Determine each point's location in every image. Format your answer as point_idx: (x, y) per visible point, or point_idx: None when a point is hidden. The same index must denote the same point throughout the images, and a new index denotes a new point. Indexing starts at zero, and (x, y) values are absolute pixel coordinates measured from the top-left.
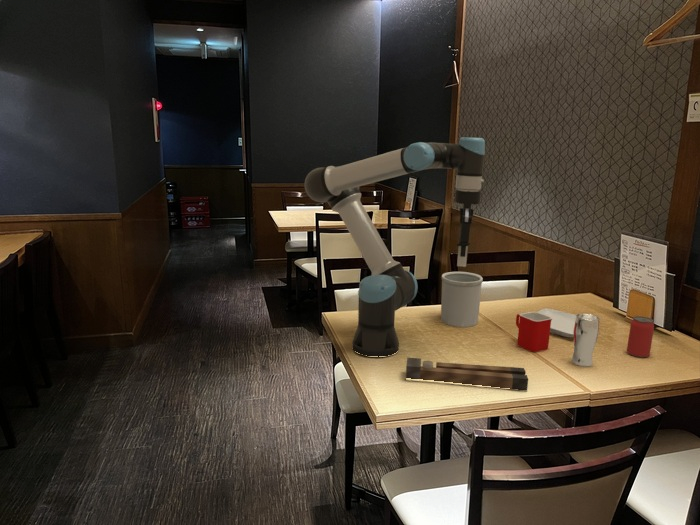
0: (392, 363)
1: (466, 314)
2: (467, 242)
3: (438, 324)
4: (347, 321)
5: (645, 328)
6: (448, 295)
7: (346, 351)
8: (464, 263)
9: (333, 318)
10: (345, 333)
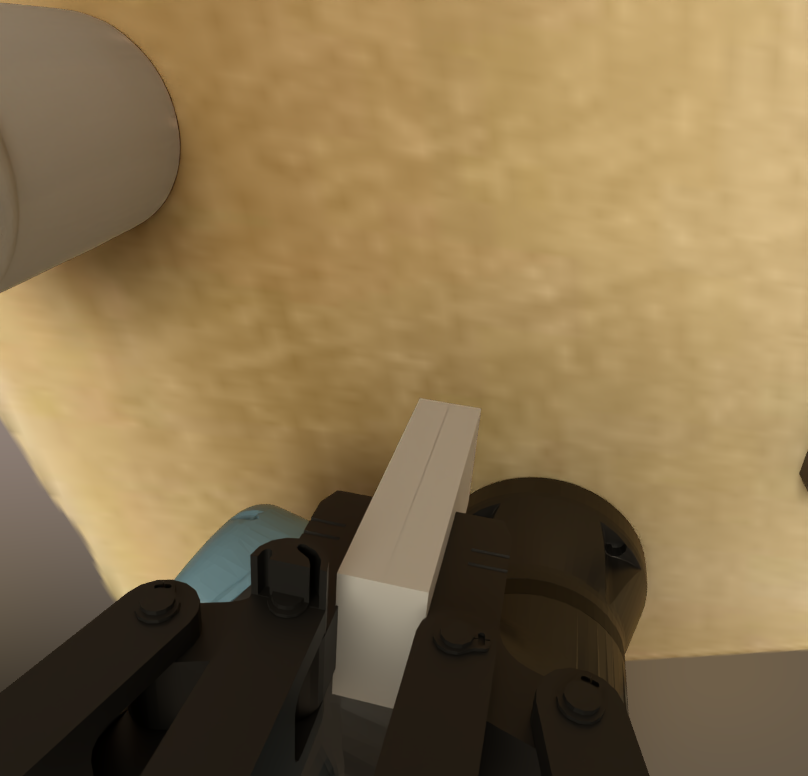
0: (702, 518)
1: (132, 110)
2: (633, 758)
3: (174, 253)
4: None
5: None
6: (56, 255)
7: None
8: (472, 449)
9: None
10: None
